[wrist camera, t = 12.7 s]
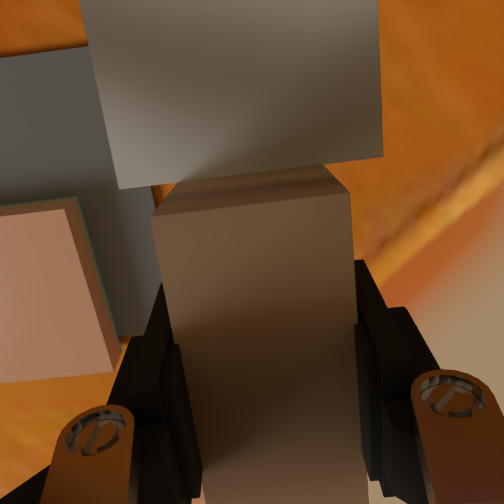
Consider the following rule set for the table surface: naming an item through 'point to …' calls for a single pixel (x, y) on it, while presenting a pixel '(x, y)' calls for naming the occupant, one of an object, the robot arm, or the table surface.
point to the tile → (51, 295)
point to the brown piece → (252, 220)
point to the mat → (77, 172)
